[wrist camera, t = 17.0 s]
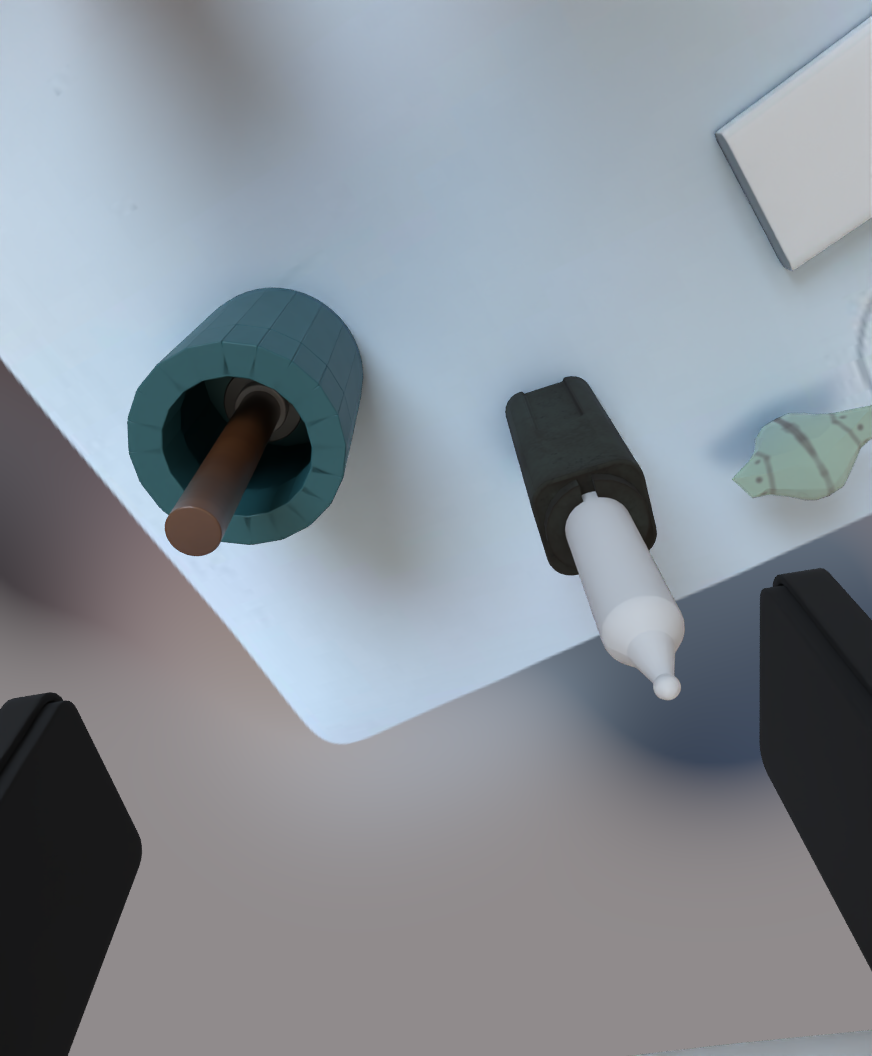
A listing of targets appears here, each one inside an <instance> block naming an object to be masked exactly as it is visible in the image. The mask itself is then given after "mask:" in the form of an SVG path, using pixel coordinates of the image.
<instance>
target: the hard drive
mask: <svg viewBox="0 0 872 1056" xmlns="http://www.w3.org/2000/svg"><path fill="white" fill-rule="evenodd" d="M715 137H716V139H717V141H718V144H719V145H720V147H721V149H722V151H723V153H724V155H725V157H726V159H727V161H728V163H729V165H730V166H731V168H732V170H733V172H734V174H735V176H736V178H737V180H738V182H739V184H740V186H741V188H742V189H743V191H744V193H745V195H746V197H747V199H748V201H749V203H750V205H751V206H752V208H753V210H754V212H755V214H756V216H757V218H758V220H759V222H760V224H761V226H762V228H763V230H764V232H765V233H766V235H767V237H768V239H769V241H770V243H771V245H772V247H773V249H774V251H775V253H776V255H777V257H778V258H779V260H780V262H781V263H782V265H783V266H784V267H785V268H786V269H788V270H791V271H794V270H795V269H797V268H798V267H800V266H801V265H803V264H804V263H806V262H807V261H809V260H810V259H812V258H813V257H815V256H816V255H818V254H819V253H820V252H822V251H823V250H825V249H826V248H828V247H829V246H831V245H832V244H834V243H835V242H837V241H838V240H839V239H841V238H842V237H844V236H845V235H847V234H848V233H850V232H851V231H853V230H854V229H856V228H857V227H859V226H860V225H862V224H863V223H865V222H866V221H868V220H869V219H870V218H872V16H871V17H869V18H868V19H867V20H865V21H864V22H863V23H861V24H860V25H859V26H857V27H856V28H855V29H853V30H852V31H850V32H849V33H848V34H846V35H845V36H844V37H842V38H841V39H840V40H838V41H837V42H836V43H834V44H833V45H832V46H830V47H829V48H828V49H827V50H825V51H824V52H822V53H821V54H820V55H819V56H817V57H816V58H815V59H813V60H812V61H811V62H809V63H808V64H806V65H805V66H804V67H802V68H801V69H800V70H798V71H797V72H796V73H794V74H793V75H792V76H791V77H789V78H788V79H786V80H785V81H784V82H782V83H781V84H780V85H778V86H777V87H776V88H774V89H773V90H772V91H770V92H769V93H768V94H766V95H765V96H763V97H762V98H761V99H760V100H758V101H757V102H756V103H754V104H753V105H751V106H750V107H749V108H747V109H746V110H745V111H743V112H742V113H741V114H739V115H738V116H737V117H735V118H734V119H733V120H731V121H730V122H729V123H727V124H726V125H725V126H723V127H722V128H721V129H719V130H718V131H717V132H716V133H715Z"/></svg>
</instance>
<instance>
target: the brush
mask: <svg viewBox="0 0 872 1056" xmlns="http://www.w3.org/2000/svg"><path fill="white" fill-rule="evenodd" d="M224 408H225V412H226V415H227V417H228V419H229V422H228V423H227V425H226V426H225V428H224V430H223V431H222V433H221V434H220V436H219V437H218V439H217V441H216V442H215V444H214V445H213V447H212V448H211V450H210V451H209V453H208V455H207V456H206V458H205V459H204V461H203V462H202V464H201V466H200V467H199V469H198V470H197V472H196V473H195V475H194V477H193V478H192V480H191V481H190V483H189V484H188V486H187V487H186V489H185V491H184V492H183V494H182V495H181V497H180V498H179V500H178V502H177V503H176V505H175V506H174V508H173V509H172V511H171V513H170V514H169V516H168V517H167V519H166V522H165V533H166V536H167V538H168V540H169V542H170V543H171V545H172V546H173V547H174V548H176V549H177V550H178V551H180V552H182V553H184V554H187V555H191V556H203V555H206V554H209V553H211V552H213V551H214V550H215V549H216V548H217V547H218V546H219V544H220V542H221V540H222V538H223V536H224V534H225V532H226V530H227V528H228V525H229V523H230V521H231V519H232V517H233V515H234V513H235V511H236V509H237V507H238V504H239V502H240V500H241V498H242V496H243V494H244V492H245V490H246V488H247V485H248V483H249V481H250V479H251V477H252V475H253V473H254V471H255V469H256V467H257V464H258V462H259V460H260V458H261V456H262V454H263V452H264V450H265V448H266V446H267V443H268V442H273V441H278V440H281V439H283V438H285V437H287V436H288V435H290V434H291V433H292V432H293V431H294V430H295V429H296V427H297V426H298V424H299V423H300V420H301V417H300V415H299V414H298V412H297V411H296V409H295V408H294V406H293V405H292V404H291V403H290V402H289V401H287V400H286V399H285V398H284V397H283V396H281V395H280V394H279V393H278V392H277V391H275V390H274V389H272V388H269V387H267V386H265V385H263V384H260V383H258V382H256V381H254V380H251V379H244V378H236V377H233V378H232V379H231V380H230V382H229V383H228V385H227V387H226V390H225V393H224Z"/></svg>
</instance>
